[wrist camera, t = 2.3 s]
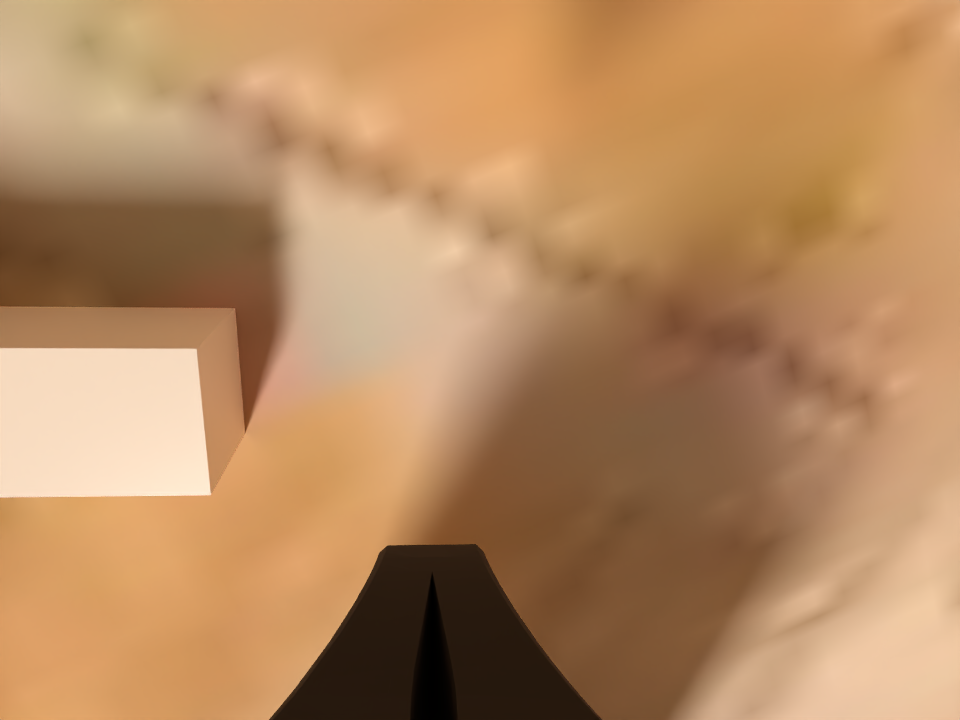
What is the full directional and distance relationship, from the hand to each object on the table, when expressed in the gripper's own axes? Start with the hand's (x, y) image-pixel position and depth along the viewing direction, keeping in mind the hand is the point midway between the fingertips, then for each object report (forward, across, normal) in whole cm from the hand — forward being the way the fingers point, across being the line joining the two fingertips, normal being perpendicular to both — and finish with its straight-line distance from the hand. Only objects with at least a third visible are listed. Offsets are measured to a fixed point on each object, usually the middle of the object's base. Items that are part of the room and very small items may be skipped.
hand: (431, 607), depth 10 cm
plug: (+10, +9, 0) cm, 13 cm away
